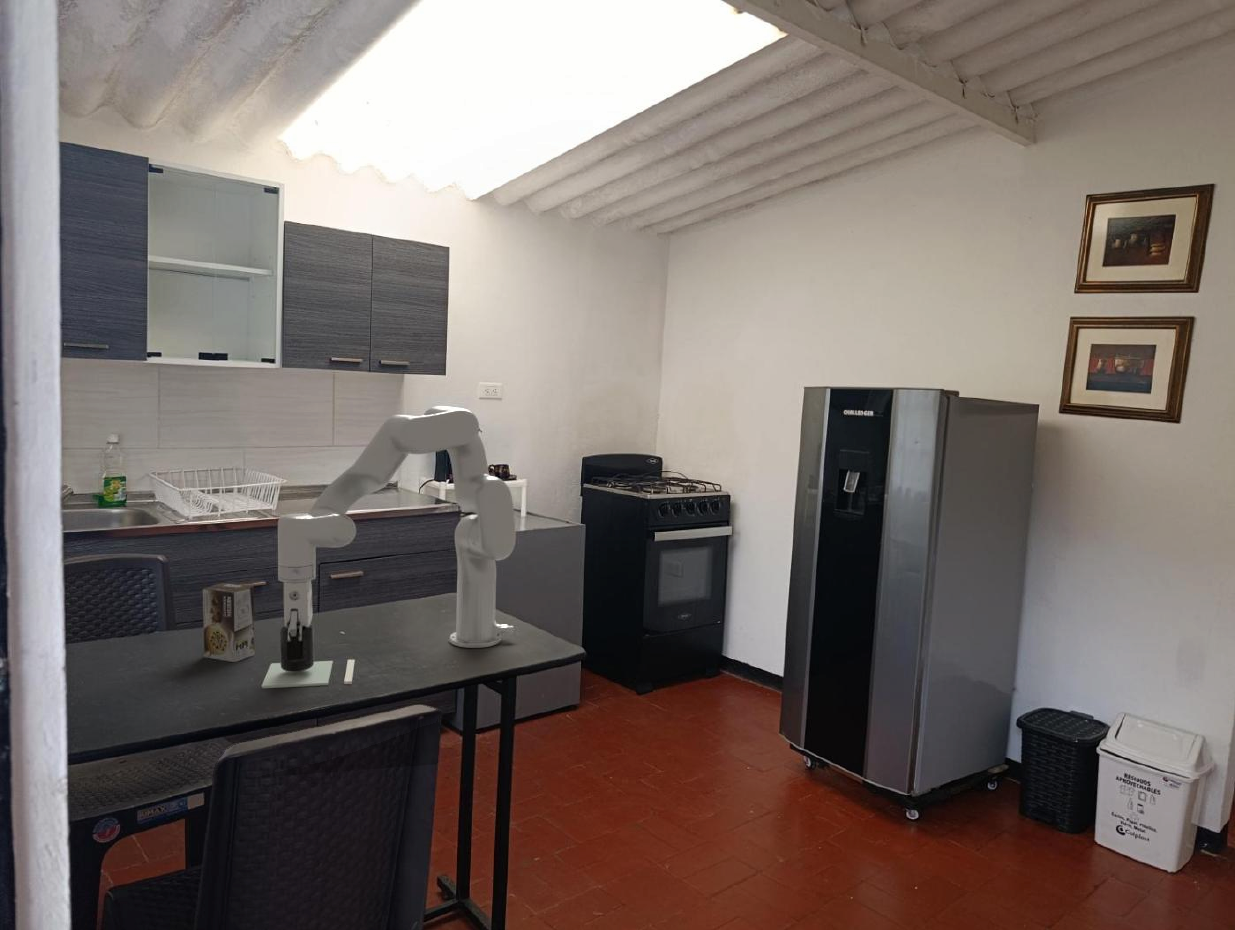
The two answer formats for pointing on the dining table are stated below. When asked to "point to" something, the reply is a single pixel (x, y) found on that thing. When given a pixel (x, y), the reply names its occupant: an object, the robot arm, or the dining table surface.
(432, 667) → the dining table surface
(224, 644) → the coffee box
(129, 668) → the dining table surface
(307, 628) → the supplement bottle
